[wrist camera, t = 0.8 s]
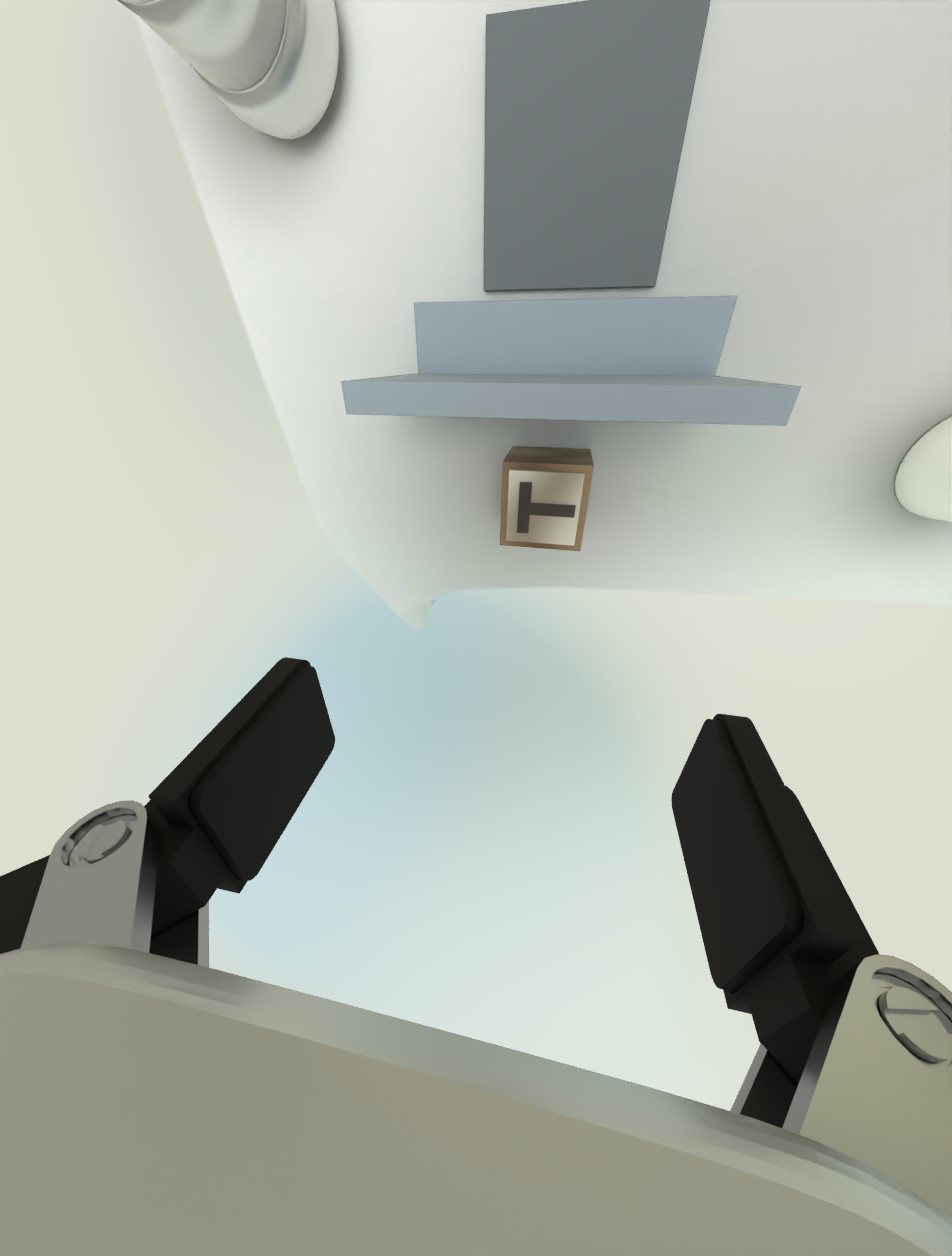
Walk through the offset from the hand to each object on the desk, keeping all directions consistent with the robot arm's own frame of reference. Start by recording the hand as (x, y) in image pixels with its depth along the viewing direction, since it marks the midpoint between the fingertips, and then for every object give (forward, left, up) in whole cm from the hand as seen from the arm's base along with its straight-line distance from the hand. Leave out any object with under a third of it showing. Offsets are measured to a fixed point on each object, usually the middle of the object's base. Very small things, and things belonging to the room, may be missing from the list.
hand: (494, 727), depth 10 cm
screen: (0, -8, -22) cm, 23 cm away
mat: (0, -15, -22) cm, 27 cm away
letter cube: (0, 0, -22) cm, 22 cm away
